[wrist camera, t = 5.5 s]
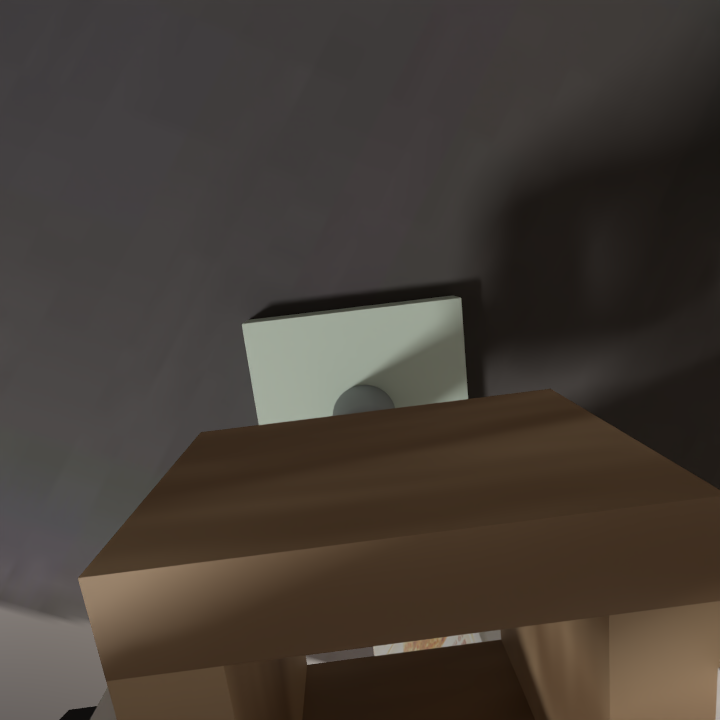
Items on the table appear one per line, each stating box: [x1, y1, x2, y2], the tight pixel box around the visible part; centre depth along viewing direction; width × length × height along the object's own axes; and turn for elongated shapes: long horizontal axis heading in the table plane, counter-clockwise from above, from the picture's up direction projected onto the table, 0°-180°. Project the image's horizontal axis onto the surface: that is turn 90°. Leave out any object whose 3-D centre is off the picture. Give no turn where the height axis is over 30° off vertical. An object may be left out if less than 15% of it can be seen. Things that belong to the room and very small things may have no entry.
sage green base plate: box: [242, 295, 468, 425], centre depth 19 cm, size 10×10×10 cm
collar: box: [78, 389, 720, 720], centre depth 9 cm, size 8×8×5 cm
